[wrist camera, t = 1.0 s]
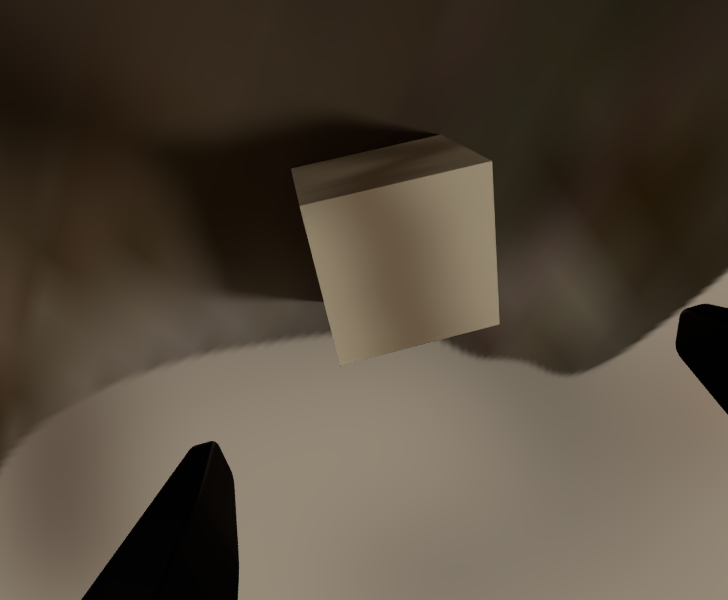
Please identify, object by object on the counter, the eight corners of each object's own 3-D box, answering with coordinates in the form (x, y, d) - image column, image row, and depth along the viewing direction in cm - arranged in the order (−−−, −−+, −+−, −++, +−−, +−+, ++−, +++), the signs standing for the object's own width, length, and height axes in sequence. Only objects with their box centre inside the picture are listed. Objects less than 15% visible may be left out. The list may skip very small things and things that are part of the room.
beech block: (439, 133, 19) (492, 161, 15) (452, 268, 22) (499, 324, 18) (290, 168, 19) (299, 206, 14) (324, 300, 22) (340, 365, 17)
